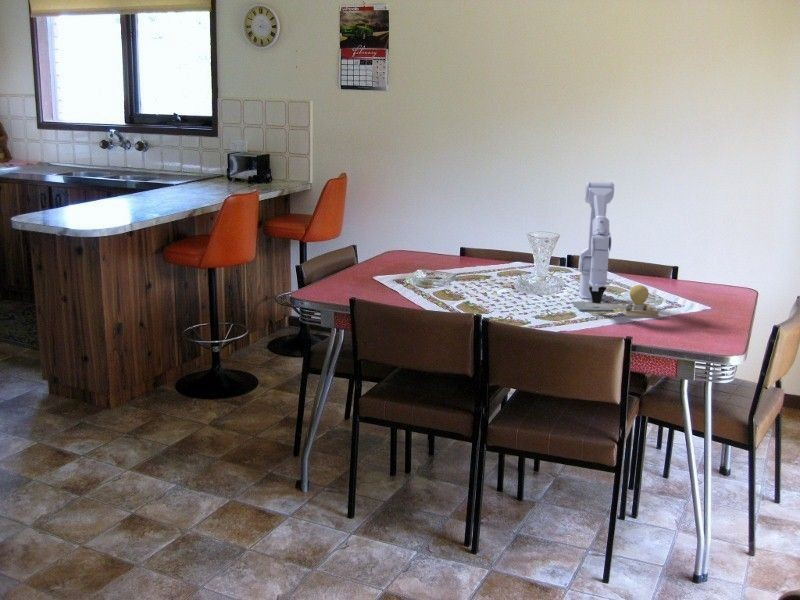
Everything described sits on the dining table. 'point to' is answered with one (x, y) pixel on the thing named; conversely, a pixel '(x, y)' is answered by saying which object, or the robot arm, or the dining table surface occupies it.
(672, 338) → the dining table surface
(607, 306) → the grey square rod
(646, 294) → the light bulb
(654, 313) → the square wooden frame
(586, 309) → the gray square panel
